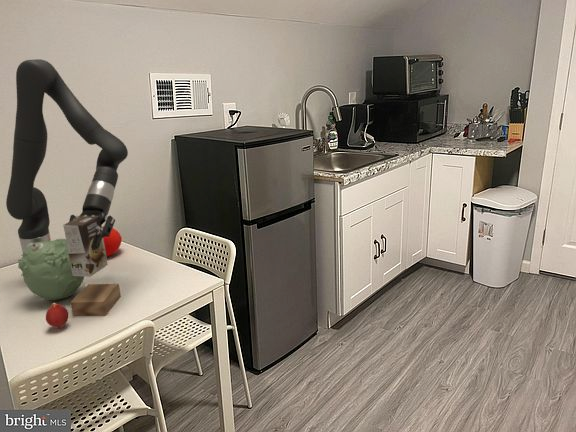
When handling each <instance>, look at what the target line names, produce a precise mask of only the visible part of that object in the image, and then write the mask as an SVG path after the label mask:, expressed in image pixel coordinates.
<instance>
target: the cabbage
mask: <svg viewBox="0 0 576 432" xmlns="http://www.w3.org/2000/svg"><path fill="white" fill-rule="evenodd" d="M21 256H22V257H21V258H19V259H18V262H17V264H18V266H17V267H18V269H20V270H21V272H22V274H21V275H20V276H21V277H23V282H24V284H25V285H26V287H27V288H28V289H29V291H31V292H32V293H33V294H34V295H35V296H37V297H39V298H41V299H43V300H49V301H60V300H63V299H66V298H69V297H70V296H72V295H73V294H75V293H76V292H77V291H78V290H79V289H80V288H81V286H82V284H83V282H84V280H85V277H83V276H73V274H72V269H71V263H70V258H69V253H68V248H67V242H66V238H59V239H58V238H57V239H53V240H51V241H50V240H48V241H45V242H36V243H30V244H29V245H27V247H26V250H24V251H23V252H22V254H21Z"/></svg>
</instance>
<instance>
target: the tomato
mask: <svg viewBox="0 0 576 432" xmlns="http://www.w3.org/2000/svg"><path fill="white" fill-rule="evenodd" d="M102 228H104V226H103V225H102ZM103 239H104V245H105V251H106V257H110V256H112V255H113V254H115V253H116V252H117V251H118V250H119V249H120V246H121V244H122V235H121V233H119V231H118V230H117V229H116V228H114V227H113V228H112V230H111V233H110V236H109V237H103Z"/></svg>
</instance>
